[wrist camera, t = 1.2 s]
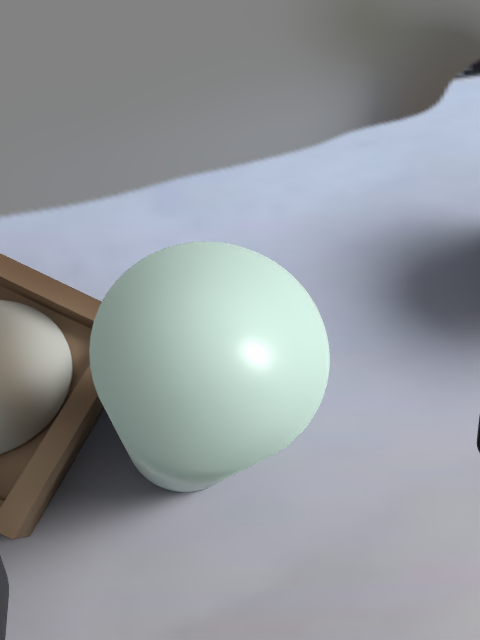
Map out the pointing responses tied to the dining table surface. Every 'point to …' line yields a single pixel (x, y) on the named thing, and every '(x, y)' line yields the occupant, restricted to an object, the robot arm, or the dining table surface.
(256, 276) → the pale green rounded part
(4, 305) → the tray
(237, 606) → the dining table surface
